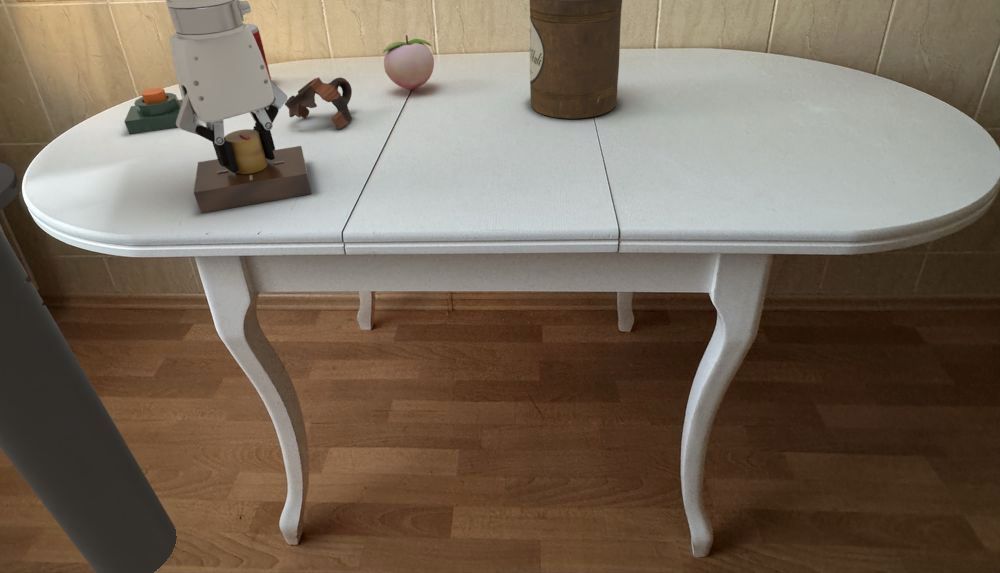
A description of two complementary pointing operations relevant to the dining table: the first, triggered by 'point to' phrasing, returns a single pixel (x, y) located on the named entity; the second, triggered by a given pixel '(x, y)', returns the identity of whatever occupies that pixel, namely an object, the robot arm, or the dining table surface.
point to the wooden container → (574, 56)
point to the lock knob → (247, 151)
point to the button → (154, 95)
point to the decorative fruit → (409, 63)
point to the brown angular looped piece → (326, 93)
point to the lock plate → (251, 182)
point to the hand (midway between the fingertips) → (249, 161)
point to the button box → (153, 115)
